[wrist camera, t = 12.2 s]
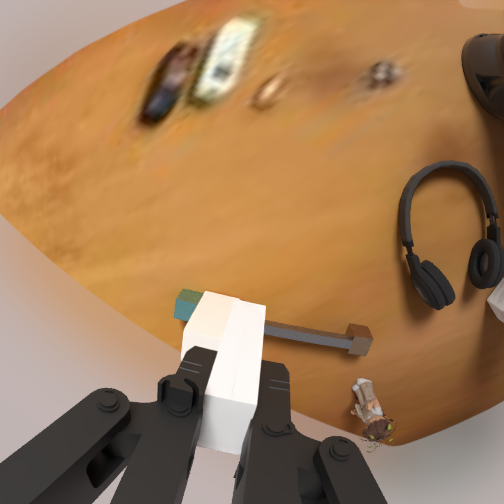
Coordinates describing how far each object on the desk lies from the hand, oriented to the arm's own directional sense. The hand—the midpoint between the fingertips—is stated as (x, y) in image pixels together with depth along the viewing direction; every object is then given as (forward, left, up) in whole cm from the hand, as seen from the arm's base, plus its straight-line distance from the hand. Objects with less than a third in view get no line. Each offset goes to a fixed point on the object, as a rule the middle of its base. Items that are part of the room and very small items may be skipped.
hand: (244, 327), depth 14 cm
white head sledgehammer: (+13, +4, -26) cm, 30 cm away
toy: (+23, +22, -27) cm, 41 cm away
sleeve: (+13, -4, -26) cm, 29 cm away
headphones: (-6, +26, -27) cm, 38 cm away
